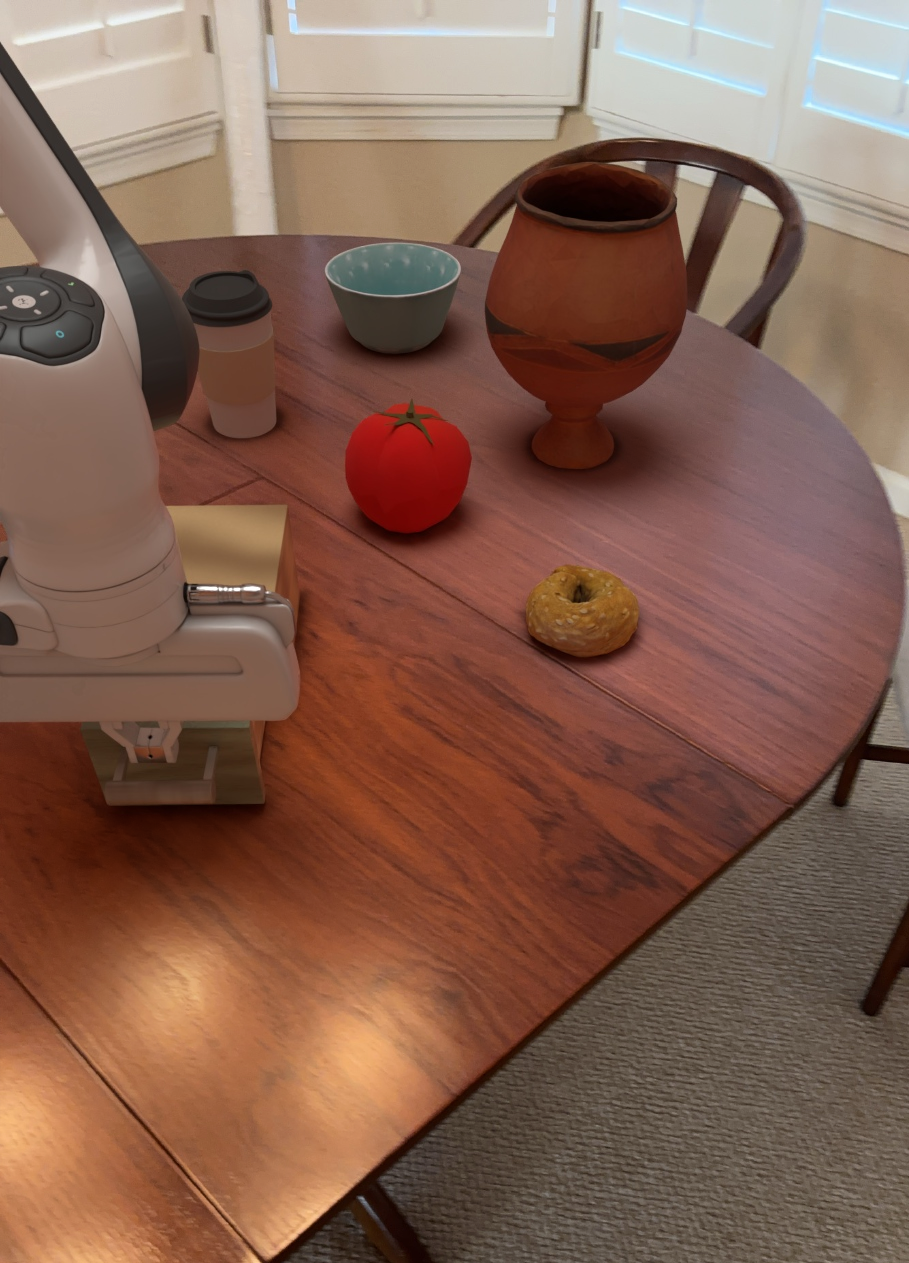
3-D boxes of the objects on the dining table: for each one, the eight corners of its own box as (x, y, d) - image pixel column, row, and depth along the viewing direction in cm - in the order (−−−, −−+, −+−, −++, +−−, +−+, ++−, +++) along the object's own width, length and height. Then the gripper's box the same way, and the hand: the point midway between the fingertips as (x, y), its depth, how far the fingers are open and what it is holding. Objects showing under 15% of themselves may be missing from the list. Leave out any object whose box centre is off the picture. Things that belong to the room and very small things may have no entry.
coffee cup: (227, 454, 111) (202, 309, 100) (188, 418, 116) (159, 276, 105) (302, 428, 115) (286, 285, 104) (261, 394, 120) (241, 254, 108)
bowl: (338, 308, 134) (332, 238, 128) (462, 310, 134) (463, 240, 128) (323, 367, 124) (316, 294, 118) (458, 370, 124) (458, 297, 117)
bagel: (652, 602, 95) (660, 557, 91) (617, 678, 88) (624, 633, 85) (546, 576, 97) (550, 532, 94) (505, 649, 91) (507, 604, 87)
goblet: (504, 510, 105) (515, 240, 86) (465, 413, 117) (467, 159, 98) (689, 489, 107) (740, 223, 88) (632, 396, 120) (665, 145, 101)
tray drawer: (257, 855, 75) (241, 779, 69) (94, 857, 74) (63, 781, 69) (280, 680, 87) (268, 602, 81) (140, 681, 87) (117, 604, 81)
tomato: (344, 550, 100) (334, 441, 92) (352, 483, 108) (344, 377, 99) (471, 551, 100) (472, 442, 92) (471, 484, 108) (472, 377, 99)
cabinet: (286, 710, 86) (271, 615, 78) (129, 712, 86) (99, 617, 78) (300, 598, 95) (287, 504, 88) (159, 599, 95) (135, 505, 88)
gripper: (295, 552, 62) (316, 721, 73) (-57, 553, 62) (14, 723, 72) (286, 620, 58) (309, 790, 69) (-92, 622, 58) (-11, 792, 68)
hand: (155, 756), depth 71 cm, fingers closed
